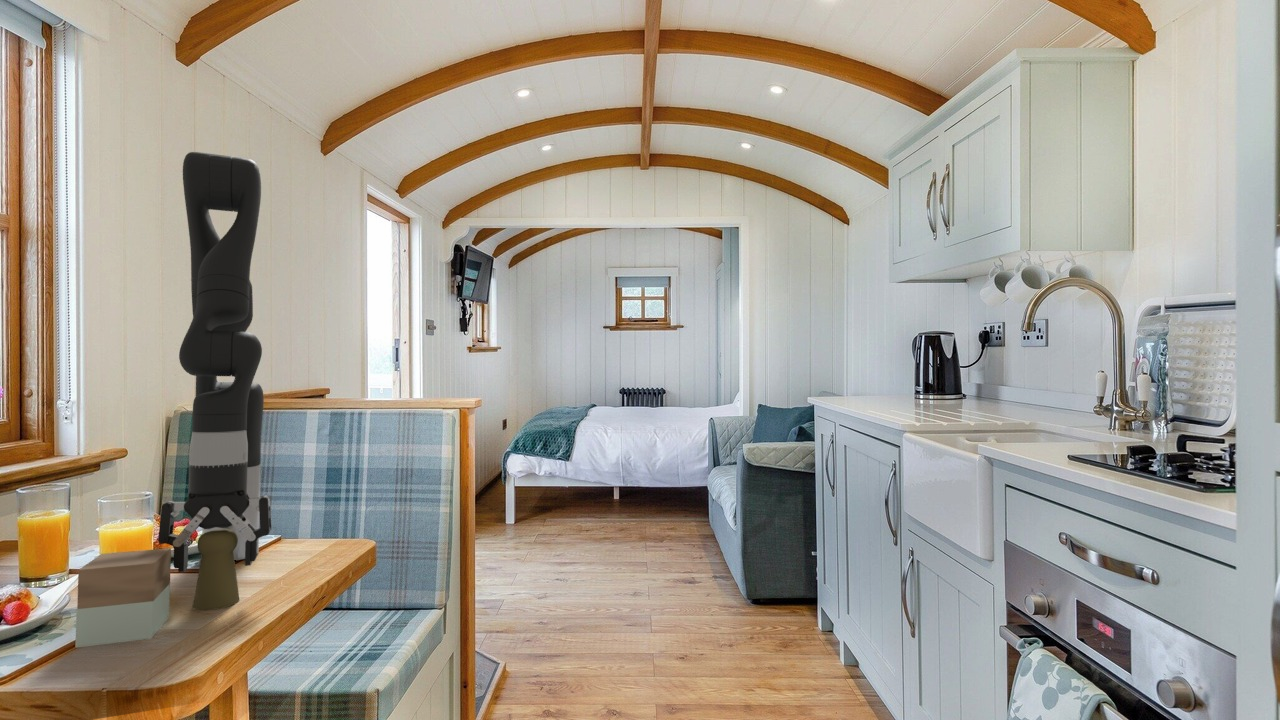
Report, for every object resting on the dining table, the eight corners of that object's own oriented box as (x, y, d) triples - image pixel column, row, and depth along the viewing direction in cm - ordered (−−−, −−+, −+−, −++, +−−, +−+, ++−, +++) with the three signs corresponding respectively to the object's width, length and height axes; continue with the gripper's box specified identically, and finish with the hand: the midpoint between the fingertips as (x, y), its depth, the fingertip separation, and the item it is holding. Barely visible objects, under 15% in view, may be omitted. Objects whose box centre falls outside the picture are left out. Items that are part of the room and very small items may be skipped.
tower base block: (99, 626, 90) (100, 589, 90) (169, 618, 93) (169, 583, 93) (75, 648, 82) (76, 609, 82) (151, 639, 85) (152, 601, 85)
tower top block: (101, 589, 90) (102, 553, 90) (170, 583, 93) (171, 548, 93) (77, 609, 82) (78, 569, 83) (153, 601, 86) (154, 563, 86)
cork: (216, 611, 95) (218, 536, 95) (182, 608, 96) (184, 534, 96) (249, 597, 101) (250, 527, 101) (216, 594, 102) (218, 525, 102)
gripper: (275, 456, 105) (273, 556, 104) (170, 460, 100) (167, 566, 99) (268, 461, 98) (265, 569, 97) (155, 465, 93) (151, 579, 92)
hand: (216, 567), depth 98 cm, fingers open, 8 cm apart
